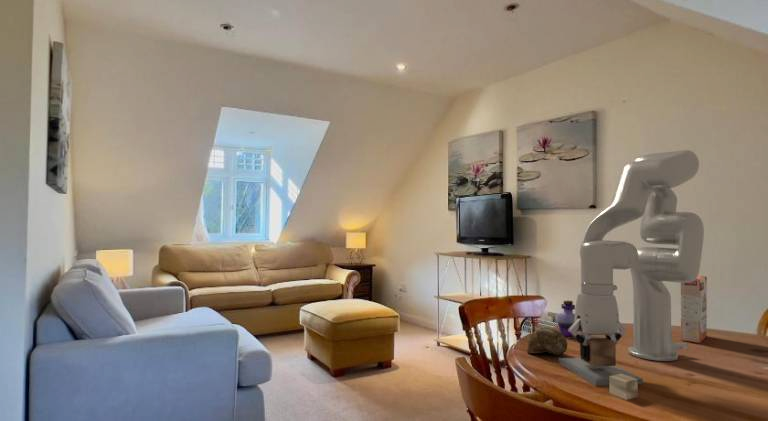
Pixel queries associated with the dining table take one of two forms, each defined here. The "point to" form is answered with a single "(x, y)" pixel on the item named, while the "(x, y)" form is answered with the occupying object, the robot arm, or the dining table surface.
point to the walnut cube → (601, 351)
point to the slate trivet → (595, 371)
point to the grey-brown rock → (547, 341)
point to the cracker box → (694, 310)
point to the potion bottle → (566, 318)
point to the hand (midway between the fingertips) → (597, 358)
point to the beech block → (623, 386)
